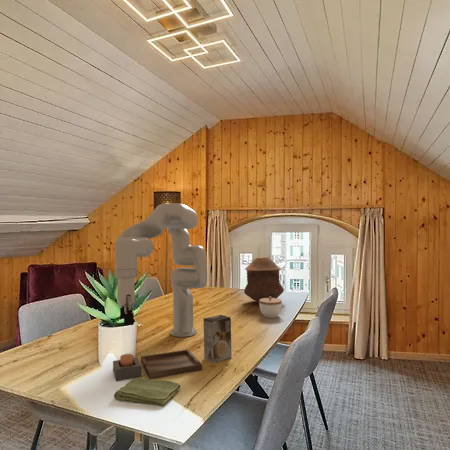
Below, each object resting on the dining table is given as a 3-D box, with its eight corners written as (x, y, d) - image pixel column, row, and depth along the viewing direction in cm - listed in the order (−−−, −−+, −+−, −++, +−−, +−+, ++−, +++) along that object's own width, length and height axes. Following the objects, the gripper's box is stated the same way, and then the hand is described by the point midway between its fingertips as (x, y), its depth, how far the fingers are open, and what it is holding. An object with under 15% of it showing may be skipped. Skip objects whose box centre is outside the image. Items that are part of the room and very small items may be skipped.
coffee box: (221, 353, 152) (221, 314, 152) (231, 357, 147) (231, 317, 147) (203, 358, 146) (203, 318, 146) (213, 363, 141) (213, 321, 141)
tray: (140, 362, 144) (140, 356, 144) (188, 354, 151) (188, 349, 151) (149, 379, 128) (149, 373, 128) (202, 370, 135) (202, 364, 135)
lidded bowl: (279, 319, 202) (279, 299, 202) (256, 318, 206) (256, 298, 206) (283, 314, 214) (283, 295, 214) (262, 312, 218) (261, 293, 218)
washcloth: (165, 409, 109) (165, 398, 109) (111, 402, 113) (111, 391, 113) (182, 389, 121) (182, 379, 121) (133, 383, 126) (133, 374, 126)
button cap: (119, 363, 133) (119, 355, 133) (132, 361, 135) (132, 353, 135) (121, 367, 129) (121, 359, 129) (134, 365, 131) (134, 357, 131)
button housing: (113, 372, 135) (112, 360, 134) (137, 368, 138) (137, 357, 138) (115, 381, 127) (115, 369, 127) (141, 376, 130) (141, 365, 130)
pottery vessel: (283, 308, 227) (282, 259, 227) (241, 307, 232) (241, 259, 231) (284, 299, 253) (283, 255, 252) (246, 298, 257) (246, 255, 257)
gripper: (112, 271, 138) (113, 317, 139) (118, 277, 123) (119, 329, 123) (133, 270, 141) (133, 315, 142) (141, 275, 125) (142, 326, 126)
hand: (126, 321), depth 132 cm, fingers open, 9 cm apart
